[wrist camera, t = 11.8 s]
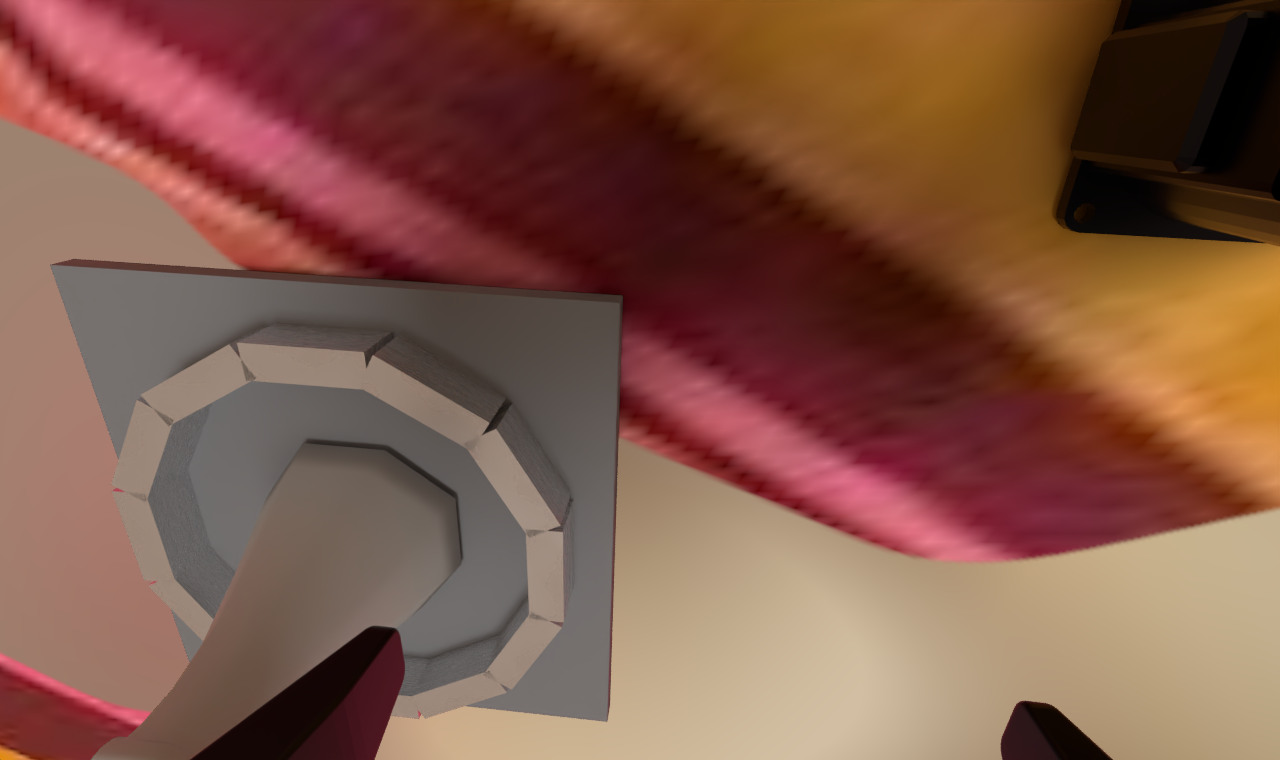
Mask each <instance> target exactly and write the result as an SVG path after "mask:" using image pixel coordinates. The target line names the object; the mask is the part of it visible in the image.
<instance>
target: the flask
mask: <svg viewBox="0 0 1280 760" xmlns="http://www.w3.org/2000/svg"><path fill="white" fill-rule="evenodd" d="M460 565H461V554H460V543H459V533H458V522H457V512H456V501H455V498H454V497H452V496H451V495H449V494H448V493H446V492H445V491H443V490H442V489H440V488H439V487H438V486H436V485H435V484H433V483H432V482H430V481H429V480H427V479H426V478H425V477H423V476H422V475H420V474H419V473H417V472H416V471H414V470H413V469H411V468H410V467H409V466H407V465H406V464H404V463H403V462H401V461H400V460H398V459H397V458H395V457H394V456H393V455H391V454H390V453H388V452H387V451H385V450H377V449H366V448H354V447H342V446H330V445H319V444H307V443H303V444H302V445H301V447H300V448H299V450H298V451H297V453H296V454H295V456H294V457H293V459H292V460H291V462H290V463H289V465H288V466H287V468H286V469H285V471H284V472H283V474H282V475H281V477H280V478H279V480H278V481H277V483H276V484H275V486H274V487H273V489H272V490H271V492H270V493H269V494H268V496H267V499H266V501H265V503H264V505H263V507H262V509H261V512H260V514H259V516H258V519H257V521H256V524H255V526H254V528H253V531H252V533H251V536H250V538H249V541H248V543H247V546H246V548H245V551H244V553H243V555H242V558H241V560H240V563H239V565H238V568H237V570H236V572H235V574H234V576H233V579H232V581H231V583H230V585H229V587H228V589H227V592H226V594H225V596H224V598H223V600H222V602H221V605H220V607H219V609H218V611H217V613H216V615H215V618H214V620H213V622H212V624H211V626H210V628H209V630H208V633H207V635H206V637H205V639H204V641H203V643H202V645H201V647H200V648H199V650H198V651H197V653H196V654H195V656H194V657H193V659H192V660H191V662H190V663H189V665H188V666H187V668H186V669H185V671H184V672H183V674H182V675H181V677H180V678H179V680H178V681H177V683H176V684H175V686H174V687H173V689H172V690H171V691H170V692H169V693H168V695H167V696H166V697H165V698H164V699H163V700H162V701H161V703H160V704H159V705H158V706H157V707H156V708H155V709H154V710H153V712H152V713H151V714H150V715H149V716H148V717H147V718H146V720H145V721H144V722H143V723H142V724H141V725H140V726H139V727H138V728H137V729H136V730H135V731H134V732H132V733H131V734H130V735H129V736H128V737H127V738H126V737H117V738H114V739H112V740H111V741H109V742H108V743H107V744H105V745H104V746H103V747H101V748H100V749H99V751H98V752H97V753H96V754H95V755H94V756H93V758H92V759H91V760H189V759H191V758H192V757H193V756H195V755H196V754H198V753H199V752H200V751H202V750H203V749H204V748H206V747H207V746H208V745H210V744H211V743H212V742H214V741H215V740H216V739H218V738H219V737H220V736H222V735H223V734H225V733H226V732H227V731H229V730H230V729H231V728H233V727H234V726H235V725H237V724H238V723H239V722H241V721H242V720H243V719H245V718H246V717H247V716H249V715H250V714H251V713H253V712H254V711H256V710H257V709H258V708H260V707H261V706H262V705H264V704H265V703H266V702H268V701H269V700H270V699H272V698H273V697H274V696H276V695H277V694H278V693H280V692H281V691H282V690H284V689H285V688H287V687H288V686H289V685H291V684H292V683H293V682H295V681H296V680H297V679H299V678H300V677H301V676H303V675H304V674H305V673H307V672H308V671H309V670H311V669H312V668H313V667H315V666H316V665H318V664H319V663H320V662H322V661H323V660H324V659H326V658H327V657H328V656H330V655H331V654H332V653H334V652H335V651H336V650H338V649H339V648H340V647H342V646H343V645H345V644H346V643H347V642H349V641H350V640H351V639H353V638H354V637H355V636H357V635H358V634H359V633H361V632H362V631H363V630H365V629H366V628H368V627H370V626H385V627H394V628H397V627H398V626H399V625H401V624H402V623H403V622H405V621H406V620H407V619H408V618H410V617H411V616H412V615H413V614H415V613H416V612H417V611H418V610H419V609H421V608H422V607H423V606H424V605H425V604H426V602H427V601H428V600H429V599H430V598H431V597H432V596H433V595H434V594H435V593H436V592H437V590H438V589H439V588H440V587H441V586H442V585H443V584H444V583H445V582H446V581H447V580H448V578H449V577H450V576H451V575H452V574H453V573H454V572H455V571H456V570H457V569H458V567H459V566H460Z"/></svg>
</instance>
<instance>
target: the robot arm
mask: <svg viewBox="0 0 1280 760" xmlns="http://www.w3.org/2000/svg"><path fill="white" fill-rule="evenodd" d="M1071 150H1072V152H1073V154H1074V157H1073V161H1072V164H1071V167H1070V170H1069V174H1068V177H1067V180H1066V183H1065V187H1064V190H1063V193H1062V196H1061V199H1060V203H1059V206H1058V209H1057V220H1058V223H1059V224H1060V225H1061V226H1062V227H1063V228H1065V229H1068V230H1071V231H1075V232H1079V233H1096V234H1114V235H1131V236H1149V237H1166V238H1184V239H1201V240H1219V241H1236V242H1254V243H1268V244H1272V245H1277V246H1280V0H1122V3H1121V6H1120V9H1119V12H1118V15H1117V19H1116V22H1115V25H1114V28H1113V32H1112V35H1111V36H1110V37H1109V38H1108V39H1107V40H1106V41H1105V42H1104V43H1103V44H1102V46H1101V49H1100V53H1099V56H1098V59H1097V62H1096V66H1095V69H1094V72H1093V75H1092V79H1091V82H1090V85H1089V89H1088V92H1087V95H1086V98H1085V102H1084V105H1083V108H1082V111H1081V115H1080V118H1079V121H1078V125H1077V128H1076V131H1075V134H1074V138H1073V141H1072V144H1071ZM1082 204H1085V205H1086V206H1087V211H1086V213H1085V215H1084V216H1083V217H1082V218H1081V219H1079V220H1075V218H1074V215H1075V211H1076V210H1077V208H1078V207H1080V206H1081V205H1082ZM404 676H405V661H404V655H403V648H402V642H401V636H400V632H399V631H398V630H397V629H396V628H394V627H385V626H370V627H368V628H366V629H365V630H363V631H362V632H361V633H359V634H358V635H357V636H355V637H354V638H353V639H351V640H350V641H349V642H347V643H346V644H345V645H343V646H342V647H340V648H339V649H338V650H336V651H335V652H334V653H332V654H331V655H330V656H328V657H327V658H326V659H324V660H323V661H322V662H320V663H319V664H318V665H316V666H315V667H313V668H312V669H311V670H309V671H308V672H307V673H305V674H304V675H303V676H301V677H300V678H299V679H297V680H296V681H295V682H293V683H292V684H291V685H289V686H288V687H287V688H285V689H284V690H282V691H281V692H280V693H278V694H277V695H276V696H274V697H273V698H272V699H270V700H269V701H268V702H266V703H265V704H264V705H262V706H261V707H260V708H258V709H257V710H256V711H254V712H253V713H251V714H250V715H249V716H247V717H246V718H245V719H243V720H242V721H241V722H239V723H238V724H237V725H235V726H234V727H233V728H231V729H230V730H229V731H227V732H226V733H225V734H223V735H222V736H220V737H219V738H218V739H216V740H215V741H214V742H212V743H211V744H210V745H208V746H207V747H206V748H204V749H203V750H202V751H200V752H199V753H198V754H196V755H195V756H193V757H192V758H191V759H189V760H375V757H376V754H377V751H378V749H379V746H380V743H381V741H382V737H383V735H384V732H385V730H386V727H387V724H388V721H389V719H390V716H391V713H392V711H393V708H394V705H395V703H396V700H397V697H398V694H399V692H400V689H401V686H402V683H403V680H404ZM1001 754H1002V759H1003V760H1113V759H1112V758H1110V757H1109V756H1108V755H1107V754H1106V753H1105V752H1104V751H1103V750H1102V749H1101V748H1100V747H1098V746H1097V745H1096V744H1095V743H1094V742H1093V741H1092V740H1091V739H1090V738H1089V737H1087V736H1086V735H1085V734H1084V733H1083V732H1082V731H1081V730H1080V729H1079V728H1078V727H1077V726H1075V725H1074V724H1073V723H1072V722H1071V721H1070V720H1069V719H1068V718H1067V717H1066V716H1064V715H1063V714H1062V713H1061V712H1060V711H1059V710H1058V709H1057V708H1055V707H1054V706H1052V705H1050V704H1046V703H1039V702H1031V701H1020V702H1019V703H1017V704H1016V706H1015V708H1014V710H1013V712H1012V715H1011V717H1010V720H1009V722H1008V724H1007V726H1006V729H1005V731H1004V734H1003V736H1002V739H1001Z"/></svg>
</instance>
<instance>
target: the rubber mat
mask: <svg viewBox="0 0 1280 760" xmlns="http://www.w3.org/2000/svg"><path fill="white" fill-rule="evenodd" d="M50 266H51V269H52V272H53V275H54V277H55V280H56V283H57V286H58V289H59V292H60V294H61V297H62V300H63V303H64V306H65V308H66V312H67V314H68V317H69V320H70V323H71V326H72V328H73V331H74V334H75V337H76V340H77V343H78V346H79V348H80V351H81V354H82V357H83V360H84V363H85V365H86V369H87V371H88V374H89V377H90V380H91V383H92V386H93V389H94V391H95V394H96V397H97V400H98V403H99V405H100V408H101V411H102V414H103V417H104V420H105V423H106V425H107V428H108V431H109V434H110V437H111V440H112V443H113V446H114V448H115V451H116V454H117V457H118V459H119V457H120V454H121V451H122V447H123V444H124V441H125V437H126V434H127V430H128V427H129V424H130V420H131V417H132V414H133V410H134V407H135V404H136V400H137V399H139V398H141V397H142V396H141V394H143V393H145V392H146V391H148V390H150V389H152V388H153V387H155V386H157V385H159V384H160V383H162V382H164V381H166V380H167V379H169V378H171V377H173V376H174V375H176V374H178V373H180V372H181V371H183V370H185V369H187V368H188V367H190V366H192V365H194V364H195V363H197V362H199V361H201V360H202V359H204V358H206V357H208V356H209V355H211V354H213V353H215V352H216V351H218V350H220V349H222V348H223V347H225V346H227V345H229V344H230V343H232V342H234V341H236V340H238V339H240V338H242V337H244V336H246V335H248V334H250V333H252V332H254V331H256V330H258V329H260V328H262V327H264V326H266V325H268V324H269V326H270V325H272V324H274V323H286V324H300V325H314V326H327V327H341V328H355V329H369V330H383V331H392V332H393V339H394V338H396V337H397V336H398V335H400V334H402V335H404V336H405V337H407V338H409V339H410V340H412V341H414V342H415V343H417V344H419V345H420V346H422V347H424V348H425V349H427V350H429V351H431V352H432V353H434V354H436V355H437V356H439V357H441V358H442V359H444V360H446V361H447V362H449V363H451V364H453V365H454V366H456V367H458V368H459V369H461V370H463V371H464V372H466V373H468V374H469V375H471V376H473V377H474V378H476V379H478V380H480V381H481V382H483V383H485V384H486V385H488V386H490V387H491V388H493V389H495V390H496V391H498V392H500V393H502V394H503V395H505V396H507V397H506V399H505V401H504V402H503V404H502V406H501V407H500V408H502V407H504V406H506V405H508V404H510V403H514V405H515V406H516V408H517V410H518V411H519V413H520V414H521V416H522V417H523V419H524V420H525V422H526V423H527V425H528V427H529V428H530V430H531V431H532V433H533V434H534V436H535V437H536V439H537V440H538V442H539V444H540V445H541V447H542V448H543V450H544V451H545V453H546V454H547V456H548V457H549V459H550V461H551V462H552V464H553V465H554V467H555V468H556V470H557V471H558V473H559V475H560V476H561V478H562V479H563V481H564V482H565V484H566V485H567V487H568V488H569V490H570V492H571V496H570V499H573V532H574V586H573V589H572V593H571V597H570V601H569V605H568V608H567V612H566V616H565V620H564V622H563V626H562V628H561V630H560V631H559V632H558V633H557V634H556V636H555V637H554V638H553V639H552V641H551V642H550V643H549V644H548V646H547V647H546V648H545V649H544V650H543V652H542V653H541V654H540V655H539V657H538V658H537V659H536V660H535V662H534V663H533V664H532V665H531V666H530V668H529V669H528V670H527V671H526V673H525V674H524V675H523V676H522V678H521V679H520V680H519V681H518V682H517V684H516V685H515V686H514V687H513V689H512V690H511V689H509V688H508V691H507V693H504V694H501V695H498V696H495V697H492V698H488V699H485V700H482V701H479V702H476V703H473V704H469V705H466V706H470V707H479V708H488V709H497V710H506V711H515V712H525V713H533V714H542V715H551V716H560V717H569V718H578V719H588V720H597V721H606V722H607V720H608V713H609V707H610V685H611V684H610V683H611V653H612V651H611V650H612V621H613V590H614V560H615V559H614V558H615V529H616V497H617V466H618V435H619V404H620V373H621V342H622V311H623V296H622V295H607V294H592V293H577V292H562V291H547V290H532V289H517V288H502V287H487V286H472V285H456V284H441V283H426V282H411V281H396V280H381V279H366V278H351V277H336V276H321V275H306V274H291V273H275V272H260V271H245V270H230V269H214V268H200V267H185V266H169V265H155V264H139V263H124V262H110V261H94V260H79V259H72V260H68V261H64V262H60V263H56V264H52V265H50ZM303 443H307V444H319V445H330V446H342V447H354V448H366V449H377V450H385V451H387V452H388V453H390V454H391V455H393V456H394V457H395V458H397V459H398V460H400V461H401V462H403V463H404V464H406V465H407V466H409V467H410V468H411V469H413V470H414V471H416V472H417V473H419V474H420V475H422V476H423V477H425V478H426V479H427V480H429V481H430V482H432V483H433V484H435V485H436V486H438V487H439V488H440V489H442V490H443V491H445V492H446V493H448V494H449V495H451V496H452V497H454V498H455V501H456V512H457V522H458V533H459V543H460V554H461V565H460V566H459V567H458V569H457V570H456V571H455V572H454V573H453V574H452V575H451V576H450V577H449V578H448V580H447V581H446V582H445V583H444V584H443V585H442V586H441V587H440V588H439V589H438V590H437V592H436V593H435V594H434V595H433V596H432V597H431V598H430V599H429V600H428V601H427V602H426V604H425V605H424V606H423V607H422V608H421V609H419V610H418V611H417V612H416V613H415V614H413V615H412V616H411V617H410V618H408V619H407V620H406V621H405V622H403V623H402V624H401V625H399V626H398V627H397V628H396V629H397V630H398V631H399V632H400V636H401V642H402V648H403V655H408V656H417V657H427V658H431V657H434V656H437V655H439V654H442V653H445V652H448V651H451V650H454V649H457V648H460V647H463V646H465V645H468V644H471V643H474V642H477V641H480V640H483V639H486V638H489V637H491V636H494V635H497V634H500V633H501V631H502V630H503V629H504V627H505V626H506V625H507V623H508V622H509V621H510V619H511V618H512V617H513V615H514V614H515V613H516V611H517V610H518V609H519V607H520V606H521V605H522V603H523V602H524V601H525V599H526V598H527V597H528V575H527V550H526V533H525V532H524V530H523V529H522V527H521V526H520V524H519V523H518V522H517V520H516V519H515V517H514V516H513V514H512V513H511V512H510V510H509V509H508V507H507V506H506V504H505V503H504V502H503V500H502V499H501V497H500V496H499V494H498V493H497V491H496V490H495V489H494V487H493V486H492V484H491V483H490V481H489V480H488V479H487V477H486V476H485V474H484V473H483V471H482V470H481V468H480V467H479V466H478V464H477V463H476V461H475V460H474V458H473V457H472V456H471V454H470V453H469V451H468V450H467V449H466V448H465V447H463V446H461V445H459V444H458V443H456V442H454V441H452V440H451V439H449V438H447V437H445V436H444V435H442V434H440V433H438V432H437V431H435V430H433V429H431V428H430V427H428V426H426V425H424V424H423V423H421V422H419V421H417V420H416V419H414V418H412V417H410V416H409V415H407V414H405V413H403V412H402V411H400V410H398V409H396V408H395V407H393V406H391V405H389V404H388V403H386V402H384V401H382V400H381V399H379V398H377V397H375V396H374V395H372V394H370V393H368V392H367V391H365V390H361V389H348V388H336V387H323V386H310V385H297V384H284V383H272V382H259V381H251V382H249V383H247V384H245V385H243V386H242V387H240V388H238V389H236V390H234V391H232V392H231V393H229V394H227V395H225V396H223V397H221V398H220V399H218V400H216V401H214V402H213V403H212V405H211V408H210V411H209V414H208V416H207V419H206V422H205V425H204V427H203V430H202V433H201V436H200V438H199V441H198V444H197V447H196V449H195V452H194V455H193V458H192V460H191V463H190V466H189V469H188V471H189V474H190V478H191V481H192V484H193V488H194V491H195V494H196V498H197V501H198V504H199V508H200V511H201V515H202V518H203V521H204V525H205V528H206V531H207V535H208V538H209V541H210V545H211V547H212V548H213V549H214V550H215V551H216V552H217V553H218V554H219V556H220V557H221V558H222V559H223V560H224V561H225V562H226V563H227V564H228V565H229V566H230V567H231V569H232V570H233V571H234V572H236V570H237V568H238V565H239V563H240V560H241V558H242V555H243V553H244V551H245V548H246V546H247V543H248V541H249V538H250V536H251V533H252V531H253V528H254V526H255V524H256V521H257V519H258V516H259V514H260V512H261V509H262V507H263V505H264V503H265V501H266V499H267V496H268V494H269V493H270V492H271V490H272V489H273V487H274V486H275V484H276V483H277V481H278V480H279V478H280V477H281V475H282V474H283V472H284V471H285V469H286V468H287V466H288V465H289V463H290V462H291V460H292V459H293V457H294V456H295V454H296V453H297V451H298V450H299V448H300V447H301V445H302V444H303ZM171 611H172V614H173V617H174V619H175V622H176V625H177V628H178V631H179V634H180V636H181V639H182V642H183V645H184V648H185V651H186V654H187V656H188V659H189V662H191V660H192V659H193V657H194V656H195V654H196V653H197V651H198V650H199V648H200V647H201V645H202V643H203V641H202V640H201V639H200V638H199V637H198V636H197V635H196V634H195V633H194V632H193V631H192V630H191V629H190V628H189V627H188V626H187V625H186V624H185V623H184V622H183V621H182V620H181V619H180V617H179V616H178V615H177V614H176V613H175V612H174V611H173V610H172V609H171Z"/></svg>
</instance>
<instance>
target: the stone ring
mask: <svg viewBox="0 0 1280 760" xmlns="http://www.w3.org/2000/svg"><path fill="white" fill-rule="evenodd" d="M251 381H259V382H272V383H284V384H297V385H310V386H323V387H336V388H348V389H361V390H365V391H367V392H368V393H370V394H372V395H374V396H375V397H377V398H379V399H381V400H382V401H384V402H386V403H388V404H389V405H391V406H393V407H395V408H396V409H398V410H400V411H402V412H403V413H405V414H407V415H409V416H410V417H412V418H414V419H416V420H417V421H419V422H421V423H423V424H424V425H426V426H428V427H430V428H431V429H433V430H435V431H437V432H438V433H440V434H442V435H444V436H445V437H447V438H449V439H451V440H452V441H454V442H456V443H458V444H459V445H461V446H463V447H465V448H466V449H467V450H468V451H469V453H470V454H471V456H472V457H473V458H474V460H475V461H476V463H477V464H478V466H479V467H480V468H481V470H482V471H483V473H484V474H485V476H486V477H487V479H488V480H489V481H490V483H491V484H492V486H493V487H494V489H495V490H496V491H497V493H498V494H499V496H500V497H501V499H502V500H503V502H504V503H505V504H506V506H507V507H508V509H509V510H510V512H511V513H512V514H513V516H514V517H515V519H516V520H517V522H518V523H519V524H520V526H521V527H522V529H523V530H524V532H525V533H526V550H527V575H528V597H527V598H526V599H525V601H524V602H523V603H522V605H521V606H520V607H519V609H518V610H517V611H516V613H515V614H514V615H513V617H512V618H511V619H510V621H509V622H508V623H507V625H506V626H505V627H504V629H503V630H502V631H501V633H500V634H497V635H494V636H491V637H489V638H486V639H483V640H480V641H477V642H474V643H471V644H468V645H465V646H463V647H460V648H457V649H454V650H451V651H448V652H445V653H442V654H439V655H437V656H434V657H431V658H427V657H417V656H408V655H404V661H405V676H404V680H403V683H402V686H401V689H400V692H399V694H398V697H397V700H396V703H395V705H394V708H393V711H392V713H391V716H398V717H407V718H415V719H419V718H420V716H421V714H422V715H423V716H424V718H428V717H431V716H434V715H438V714H441V713H444V712H447V711H450V710H454V709H457V708H460V707H463V706H466V705H469V704H473V703H476V702H479V701H482V700H485V699H488V698H492V697H495V696H498V695H501V694H504V693H507V691H508V688H509V689H511V690H512V689H513V687H514V686H515V685H516V684H517V682H518V681H519V680H520V679H521V678H522V676H523V675H524V674H525V673H526V671H527V670H528V669H529V668H530V666H531V665H532V664H533V663H534V662H535V660H536V659H537V658H538V657H539V655H540V654H541V653H542V652H543V650H544V649H545V648H546V647H547V646H548V644H549V643H550V642H551V641H552V639H553V638H554V637H555V636H556V634H557V633H558V632H559V631H560V630H561V628H562V626H563V622H564V620H565V616H566V612H567V608H568V605H569V601H570V597H571V593H572V589H573V586H574V532H573V499H570V496H571V492H570V490H569V488H568V487H567V485H566V484H565V482H564V481H563V479H562V478H561V476H560V475H559V473H558V471H557V470H556V468H555V467H554V465H553V464H552V462H551V461H550V459H549V457H548V456H547V454H546V453H545V451H544V450H543V448H542V447H541V445H540V444H539V442H538V440H537V439H536V437H535V436H534V434H533V433H532V431H531V430H530V428H529V427H528V425H527V423H526V422H525V420H524V419H523V417H522V416H521V414H520V413H519V411H518V410H517V408H516V406H515V405H514V403H510V404H508V405H506V406H504V407H502V408H500V407H501V406H502V404H503V402H504V401H505V399H506V397H507V396H505V395H503V394H502V393H500V392H498V391H496V390H495V389H493V388H491V387H490V386H488V385H486V384H485V383H483V382H481V381H480V380H478V379H476V378H474V377H473V376H471V375H469V374H468V373H466V372H464V371H463V370H461V369H459V368H458V367H456V366H454V365H453V364H451V363H449V362H447V361H446V360H444V359H442V358H441V357H439V356H437V355H436V354H434V353H432V352H431V351H429V350H427V349H425V348H424V347H422V346H420V345H419V344H417V343H415V342H414V341H412V340H410V339H409V338H407V337H405V336H404V335H402V334H400V335H398V336H397V337H396V338H394V339H393V332H392V331H383V330H369V329H355V328H341V327H327V326H314V325H300V324H286V323H274V324H272V325H270V326H269V324H268V325H266V326H264V327H262V328H260V329H258V330H256V331H254V332H252V333H250V334H248V335H246V336H244V337H242V338H240V339H238V340H236V341H234V342H232V343H230V344H229V345H227V346H225V347H223V348H222V349H220V350H218V351H216V352H215V353H213V354H211V355H209V356H208V357H206V358H204V359H202V360H201V361H199V362H197V363H195V364H194V365H192V366H190V367H188V368H187V369H185V370H183V371H181V372H180V373H178V374H176V375H174V376H173V377H171V378H169V379H167V380H166V381H164V382H162V383H160V384H159V385H157V386H155V387H153V388H152V389H150V390H148V391H146V392H145V393H143V394H141V396H142V397H141V398H139V399H137V400H136V404H135V407H134V410H133V414H132V417H131V420H130V424H129V427H128V430H127V434H126V437H125V441H124V444H123V447H122V451H121V454H120V457H119V461H118V464H117V467H116V471H115V474H114V477H113V481H112V484H111V485H113V486H115V487H117V488H116V489H114V490H113V491H112V493H113V496H114V498H115V501H116V504H117V507H118V510H119V512H120V515H121V518H122V521H123V523H124V526H125V529H126V531H127V534H128V537H129V540H130V543H131V545H132V548H133V551H134V554H135V556H136V559H137V561H138V565H139V567H140V570H141V573H142V575H143V578H144V580H148V581H153V582H152V583H151V584H150V585H149V587H150V588H151V589H152V590H153V591H154V592H155V593H156V594H157V595H158V596H159V597H160V598H161V599H162V600H163V601H164V602H165V603H166V604H167V605H168V606H169V607H170V608H171V609H172V610H173V611H174V612H175V613H176V614H177V615H178V616H179V617H180V619H181V620H182V621H183V622H184V623H185V624H186V625H187V626H188V627H189V628H190V629H191V630H192V631H193V632H194V633H195V634H196V635H197V636H198V637H199V638H200V639H201V640H202V641H204V639H205V637H206V635H207V633H208V630H209V628H210V626H211V624H212V622H213V620H214V618H215V615H216V613H217V611H218V609H219V607H220V605H221V602H222V600H223V598H224V596H225V594H226V592H227V589H228V587H229V585H230V583H231V581H232V579H233V576H234V574H235V572H234V571H233V570H232V569H231V567H230V566H229V565H228V564H227V563H226V562H225V561H224V560H223V559H222V558H221V557H220V556H219V554H218V553H217V552H216V551H215V550H214V549H213V548H212V547H211V545H210V541H209V538H208V535H207V531H206V528H205V525H204V521H203V518H202V515H201V511H200V508H199V504H198V501H197V498H196V494H195V491H194V488H193V484H192V481H191V478H190V474H189V471H188V469H189V466H190V463H191V460H192V458H193V455H194V452H195V449H196V447H197V444H198V441H199V438H200V436H201V433H202V430H203V427H204V425H205V422H206V419H207V416H208V414H209V411H210V408H211V405H212V403H213V402H214V401H216V400H218V399H220V398H221V397H223V396H225V395H227V394H229V393H231V392H232V391H234V390H236V389H238V388H240V387H242V386H243V385H245V384H247V383H249V382H251Z"/></svg>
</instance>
